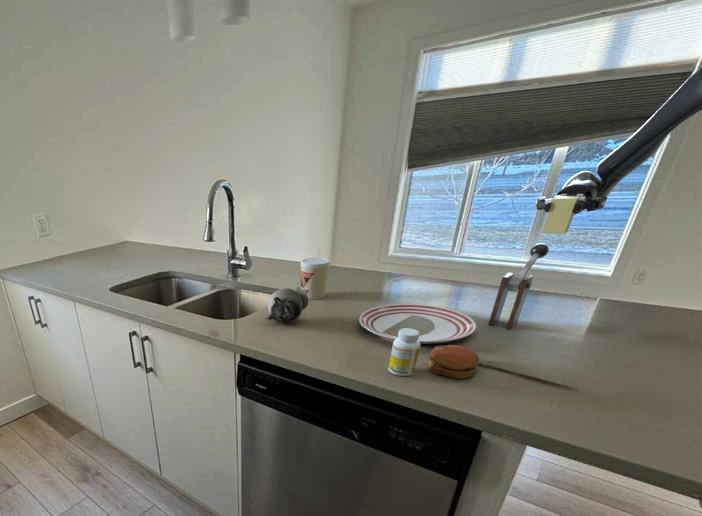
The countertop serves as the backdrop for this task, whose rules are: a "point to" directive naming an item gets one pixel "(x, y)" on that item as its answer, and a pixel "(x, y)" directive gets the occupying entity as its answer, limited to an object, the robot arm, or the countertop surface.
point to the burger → (453, 361)
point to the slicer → (517, 305)
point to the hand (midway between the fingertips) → (561, 207)
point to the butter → (560, 214)
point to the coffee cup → (314, 277)
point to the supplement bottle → (404, 352)
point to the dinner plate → (445, 320)
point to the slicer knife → (528, 266)
